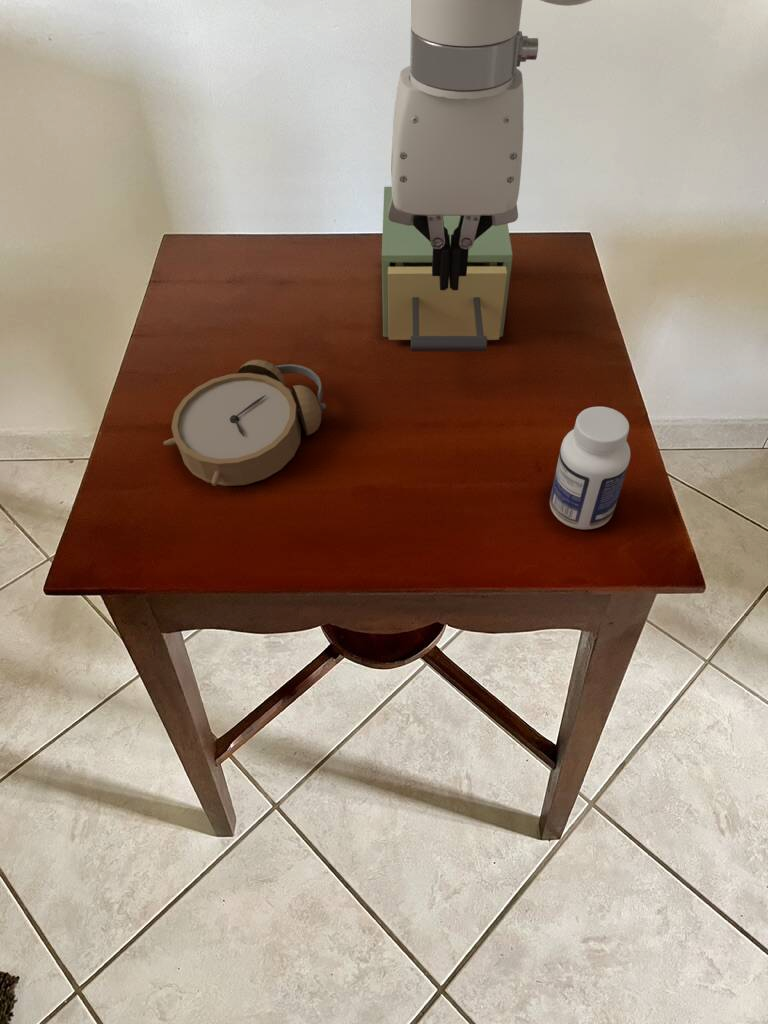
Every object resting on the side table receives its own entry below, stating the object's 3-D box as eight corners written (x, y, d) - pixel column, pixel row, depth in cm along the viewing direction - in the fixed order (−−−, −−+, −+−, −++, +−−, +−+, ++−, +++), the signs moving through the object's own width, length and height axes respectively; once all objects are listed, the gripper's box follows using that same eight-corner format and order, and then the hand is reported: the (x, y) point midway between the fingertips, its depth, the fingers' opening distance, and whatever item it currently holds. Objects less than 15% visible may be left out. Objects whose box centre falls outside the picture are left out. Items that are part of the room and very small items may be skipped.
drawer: (505, 389, 75) (514, 321, 69) (387, 389, 75) (386, 321, 69) (490, 272, 88) (497, 206, 82) (390, 272, 88) (389, 207, 82)
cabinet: (502, 337, 82) (512, 254, 74) (383, 337, 82) (381, 255, 75) (493, 265, 90) (501, 185, 83) (385, 265, 91) (384, 186, 83)
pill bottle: (609, 486, 68) (635, 401, 60) (615, 533, 64) (643, 450, 57) (547, 482, 68) (565, 397, 61) (549, 529, 65) (569, 445, 57)
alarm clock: (143, 423, 69) (266, 326, 74) (164, 456, 74) (279, 362, 78) (221, 487, 64) (347, 377, 69) (239, 518, 68) (356, 413, 73)
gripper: (561, 37, 57) (527, 258, 71) (360, 37, 58) (366, 258, 72) (575, 78, 53) (536, 307, 67) (355, 78, 53) (363, 306, 67)
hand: (448, 281), depth 69 cm, fingers closed
